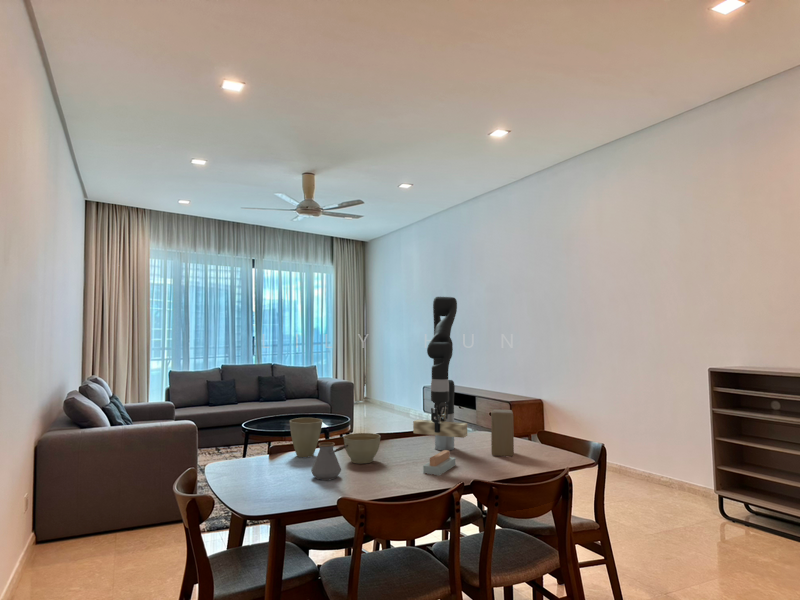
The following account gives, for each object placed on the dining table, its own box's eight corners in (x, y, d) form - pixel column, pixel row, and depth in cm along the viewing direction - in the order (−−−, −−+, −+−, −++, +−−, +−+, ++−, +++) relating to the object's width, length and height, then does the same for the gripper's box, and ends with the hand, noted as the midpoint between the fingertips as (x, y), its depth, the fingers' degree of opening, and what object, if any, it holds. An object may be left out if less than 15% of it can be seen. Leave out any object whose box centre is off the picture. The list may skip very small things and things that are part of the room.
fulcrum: (440, 463, 218) (440, 449, 219) (455, 465, 215) (455, 450, 216) (423, 473, 202) (423, 457, 203) (439, 475, 199) (439, 459, 200)
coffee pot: (305, 476, 196) (306, 437, 197) (331, 471, 204) (331, 434, 205) (334, 490, 180) (334, 447, 181) (361, 484, 187) (361, 443, 188)
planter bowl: (371, 455, 231) (371, 431, 232) (386, 463, 217) (386, 437, 218) (338, 459, 224) (338, 434, 225) (351, 467, 210) (351, 441, 211)
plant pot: (291, 460, 221) (291, 423, 222) (286, 453, 235) (287, 418, 236) (324, 458, 226) (325, 422, 227) (318, 451, 240) (319, 417, 241)
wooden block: (512, 452, 240) (512, 409, 241) (513, 457, 230) (513, 412, 231) (491, 451, 241) (491, 409, 243) (491, 456, 231) (491, 412, 233)
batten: (467, 435, 207) (467, 423, 208) (463, 437, 203) (463, 425, 203) (418, 431, 217) (418, 419, 217) (413, 433, 212) (413, 421, 212)
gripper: (441, 392, 203) (442, 435, 202) (454, 388, 216) (454, 429, 215) (424, 391, 206) (424, 433, 205) (438, 388, 219) (438, 427, 218)
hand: (439, 431), depth 210 cm, fingers closed on batten, 5 cm apart
